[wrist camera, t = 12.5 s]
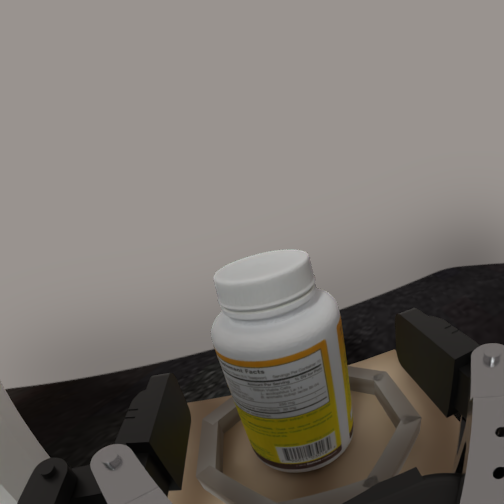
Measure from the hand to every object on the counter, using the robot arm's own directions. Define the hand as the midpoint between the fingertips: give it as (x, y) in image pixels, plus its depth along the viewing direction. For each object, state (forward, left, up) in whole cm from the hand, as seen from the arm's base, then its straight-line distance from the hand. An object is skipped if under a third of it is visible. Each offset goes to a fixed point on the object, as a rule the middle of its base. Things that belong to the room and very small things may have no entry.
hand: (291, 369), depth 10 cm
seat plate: (0, +3, -8) cm, 9 cm away
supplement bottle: (0, +3, -7) cm, 8 cm away
